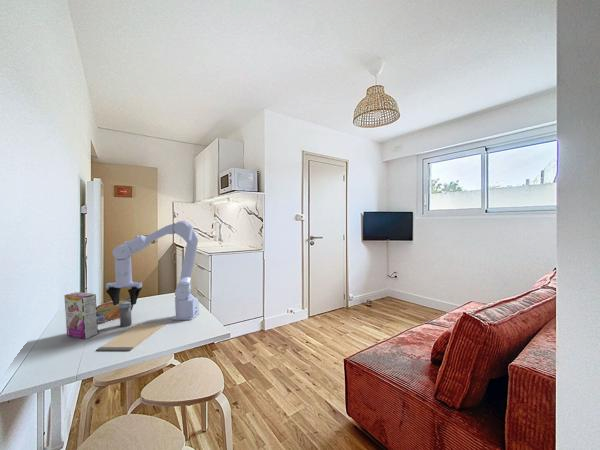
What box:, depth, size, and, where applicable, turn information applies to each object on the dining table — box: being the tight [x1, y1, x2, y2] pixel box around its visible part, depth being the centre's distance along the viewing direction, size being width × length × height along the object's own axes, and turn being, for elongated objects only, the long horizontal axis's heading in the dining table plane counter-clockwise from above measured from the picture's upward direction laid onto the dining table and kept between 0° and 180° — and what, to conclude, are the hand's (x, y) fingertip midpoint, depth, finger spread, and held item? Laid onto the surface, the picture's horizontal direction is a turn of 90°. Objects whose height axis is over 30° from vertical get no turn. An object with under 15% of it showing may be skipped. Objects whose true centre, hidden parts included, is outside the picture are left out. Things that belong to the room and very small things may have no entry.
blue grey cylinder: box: [119, 302, 133, 328], centre depth 107 cm, size 4×4×10 cm
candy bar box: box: [63, 291, 99, 340], centre depth 98 cm, size 11×5×16 cm, turn 71°
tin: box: [96, 297, 134, 324], centre depth 115 cm, size 15×3×8 cm, turn 148°
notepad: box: [96, 323, 166, 352], centre depth 97 cm, size 12×21×1 cm, turn 177°
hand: (125, 304), depth 107 cm, fingers open, 7 cm apart
